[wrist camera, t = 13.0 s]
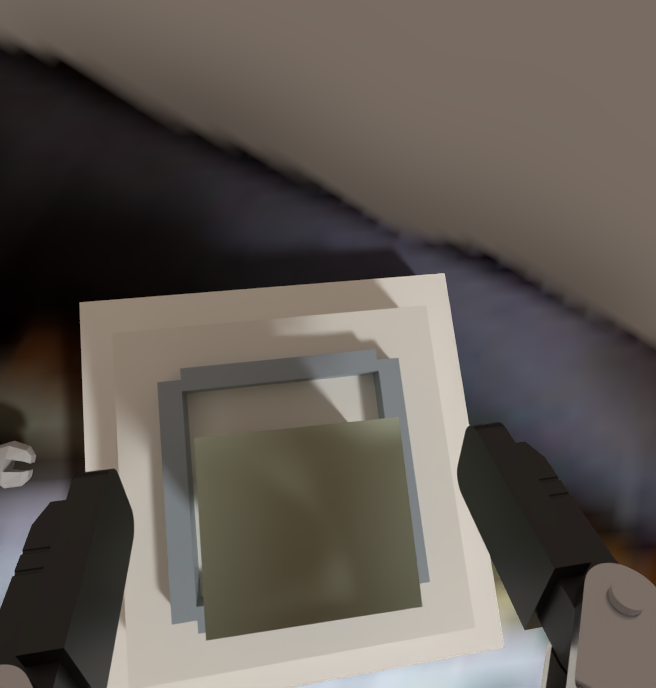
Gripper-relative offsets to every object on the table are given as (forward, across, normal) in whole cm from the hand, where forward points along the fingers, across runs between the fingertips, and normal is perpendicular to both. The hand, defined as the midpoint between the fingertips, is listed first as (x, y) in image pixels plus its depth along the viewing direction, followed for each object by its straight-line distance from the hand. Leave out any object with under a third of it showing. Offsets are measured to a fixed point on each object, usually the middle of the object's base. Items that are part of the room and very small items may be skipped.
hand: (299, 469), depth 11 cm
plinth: (+8, 0, +9) cm, 12 cm away
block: (+4, 0, +5) cm, 7 cm away
